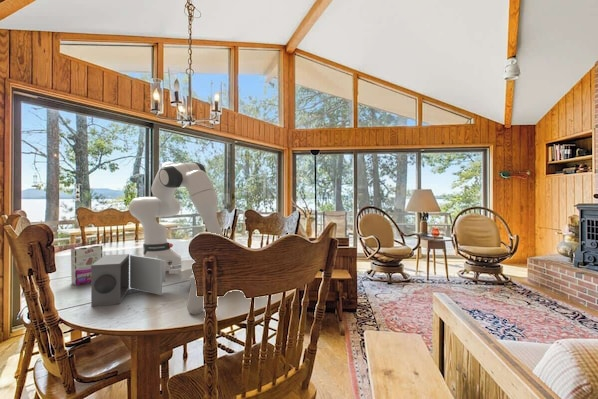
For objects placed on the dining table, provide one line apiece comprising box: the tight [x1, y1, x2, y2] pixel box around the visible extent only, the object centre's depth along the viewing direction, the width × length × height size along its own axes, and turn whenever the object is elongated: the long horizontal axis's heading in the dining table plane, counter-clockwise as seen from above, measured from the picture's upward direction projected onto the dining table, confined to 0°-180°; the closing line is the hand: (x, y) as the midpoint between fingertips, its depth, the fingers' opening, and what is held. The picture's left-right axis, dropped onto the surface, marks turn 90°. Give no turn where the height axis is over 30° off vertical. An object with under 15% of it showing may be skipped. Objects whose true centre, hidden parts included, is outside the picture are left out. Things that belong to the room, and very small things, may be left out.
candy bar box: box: [70, 243, 104, 286], centre depth 136 cm, size 11×5×16 cm, turn 148°
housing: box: [90, 253, 130, 308], centre depth 116 cm, size 20×9×15 cm, turn 20°
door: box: [129, 254, 166, 295], centre depth 125 cm, size 18×5×14 cm, turn 65°
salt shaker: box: [186, 275, 204, 316], centre depth 103 cm, size 6×6×13 cm
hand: (169, 269), depth 126 cm, fingers open, 4 cm apart
